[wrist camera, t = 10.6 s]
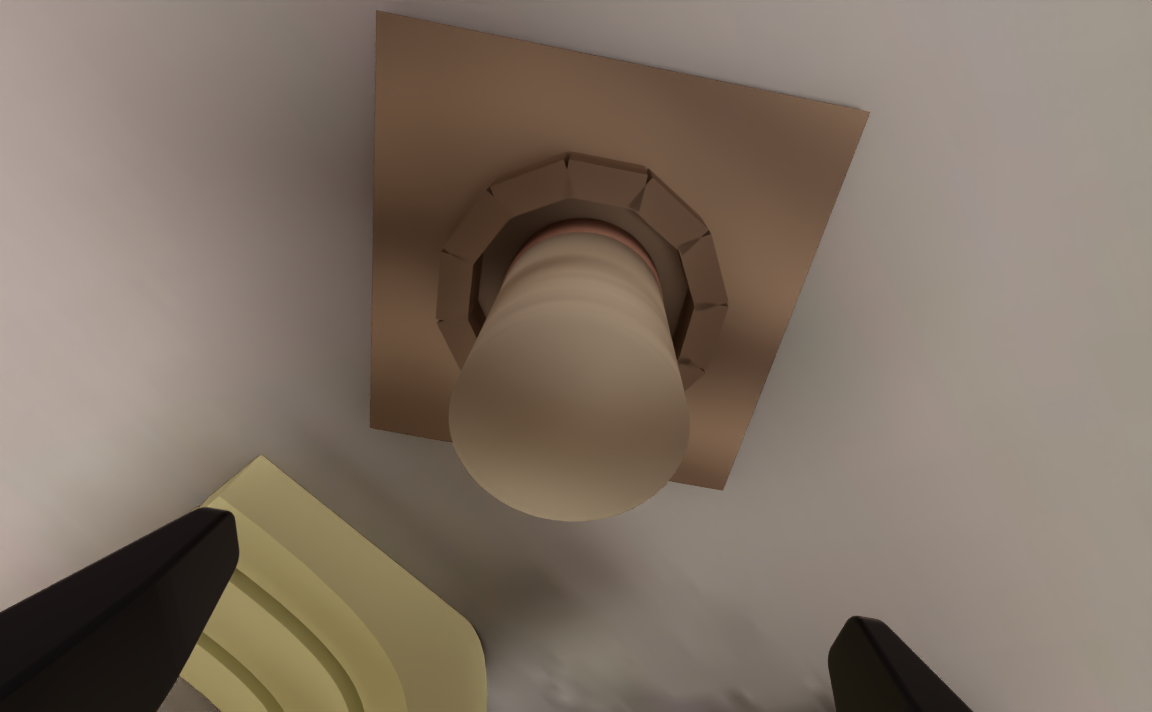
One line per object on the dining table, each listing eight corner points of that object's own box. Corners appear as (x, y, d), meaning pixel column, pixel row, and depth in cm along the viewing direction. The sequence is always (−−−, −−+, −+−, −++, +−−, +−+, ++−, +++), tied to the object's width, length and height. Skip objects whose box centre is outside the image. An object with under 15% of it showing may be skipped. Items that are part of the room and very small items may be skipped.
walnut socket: (720, 480, 23) (730, 519, 21) (375, 419, 22) (353, 453, 20) (861, 110, 16) (895, 116, 15) (383, 12, 16) (352, 4, 14)
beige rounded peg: (640, 372, 20) (657, 539, 13) (498, 346, 20) (438, 502, 13) (677, 234, 18) (724, 344, 11) (517, 202, 18) (456, 294, 10)
